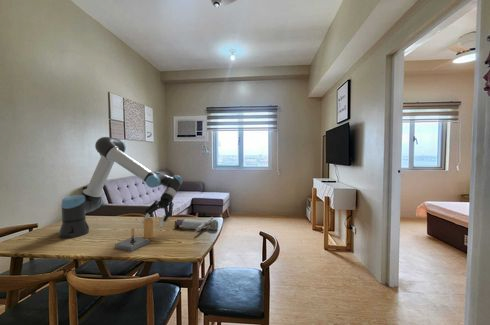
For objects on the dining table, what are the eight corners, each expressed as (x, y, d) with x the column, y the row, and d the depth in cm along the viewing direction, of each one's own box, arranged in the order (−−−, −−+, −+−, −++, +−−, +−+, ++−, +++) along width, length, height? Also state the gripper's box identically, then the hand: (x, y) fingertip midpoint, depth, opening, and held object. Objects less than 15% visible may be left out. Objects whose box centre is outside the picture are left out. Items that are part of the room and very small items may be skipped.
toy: (164, 235, 138) (210, 238, 132) (164, 224, 138) (210, 227, 132) (186, 221, 167) (224, 223, 161) (186, 212, 167) (224, 214, 161)
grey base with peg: (115, 247, 119) (114, 230, 118) (134, 239, 130) (133, 224, 129) (131, 251, 114) (131, 233, 114) (149, 242, 125) (149, 226, 125)
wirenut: (142, 237, 133) (141, 219, 133) (148, 234, 138) (148, 217, 138) (148, 238, 131) (148, 220, 131) (155, 235, 136) (155, 218, 136)
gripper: (186, 200, 147) (171, 230, 133) (156, 197, 156) (139, 225, 143) (181, 193, 142) (164, 223, 128) (150, 191, 151) (132, 219, 138)
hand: (151, 224), depth 135 cm, fingers open, 13 cm apart
